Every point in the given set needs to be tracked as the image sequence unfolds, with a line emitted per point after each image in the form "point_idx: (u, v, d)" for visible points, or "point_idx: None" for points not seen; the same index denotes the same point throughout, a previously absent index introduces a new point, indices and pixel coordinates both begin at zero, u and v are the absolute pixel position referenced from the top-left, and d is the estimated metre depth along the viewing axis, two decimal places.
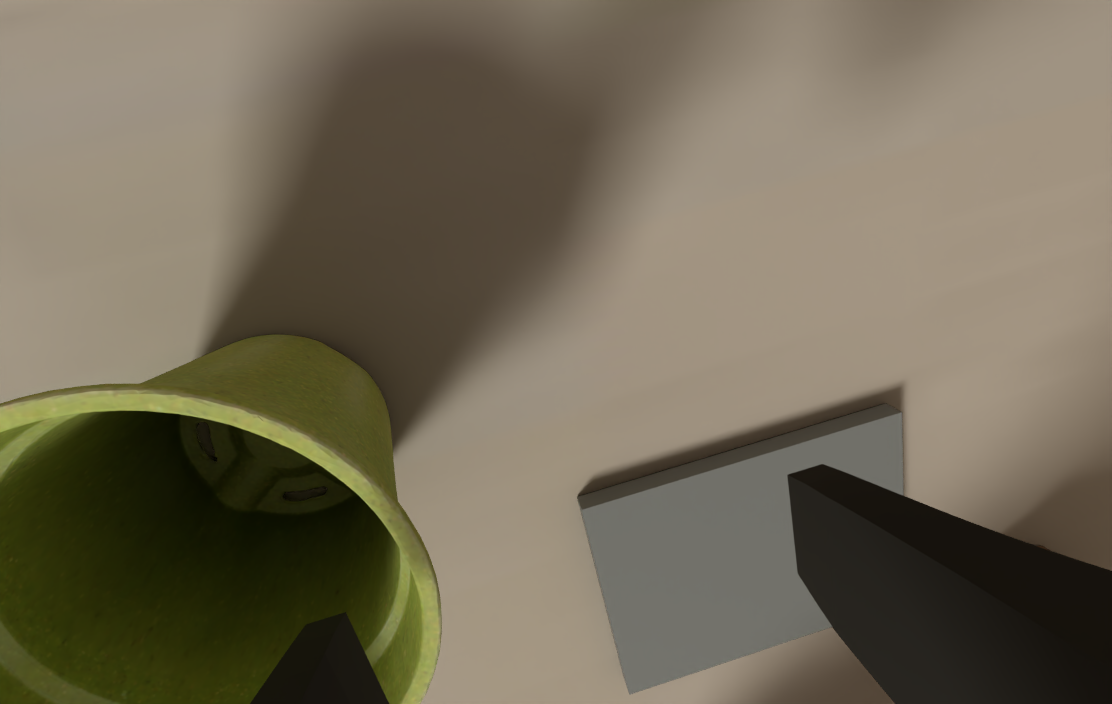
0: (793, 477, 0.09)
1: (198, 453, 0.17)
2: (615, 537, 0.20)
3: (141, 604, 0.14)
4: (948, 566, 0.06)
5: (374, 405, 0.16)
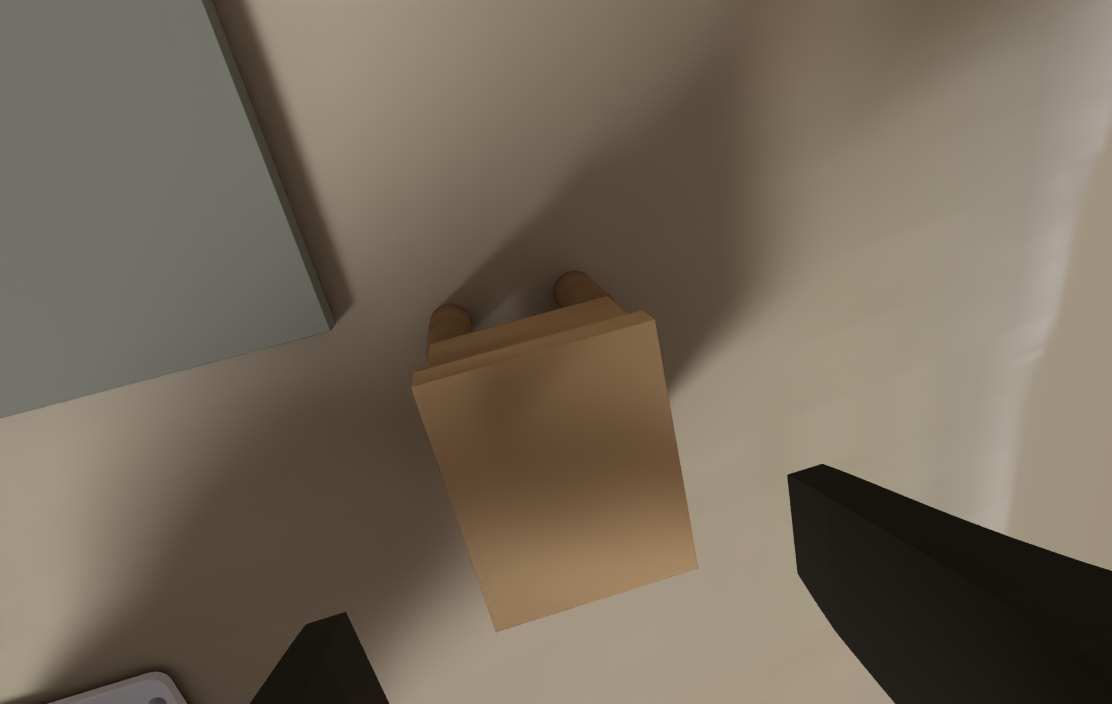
0: (793, 477, 0.09)
1: None
2: None
3: None
4: (948, 566, 0.06)
5: None
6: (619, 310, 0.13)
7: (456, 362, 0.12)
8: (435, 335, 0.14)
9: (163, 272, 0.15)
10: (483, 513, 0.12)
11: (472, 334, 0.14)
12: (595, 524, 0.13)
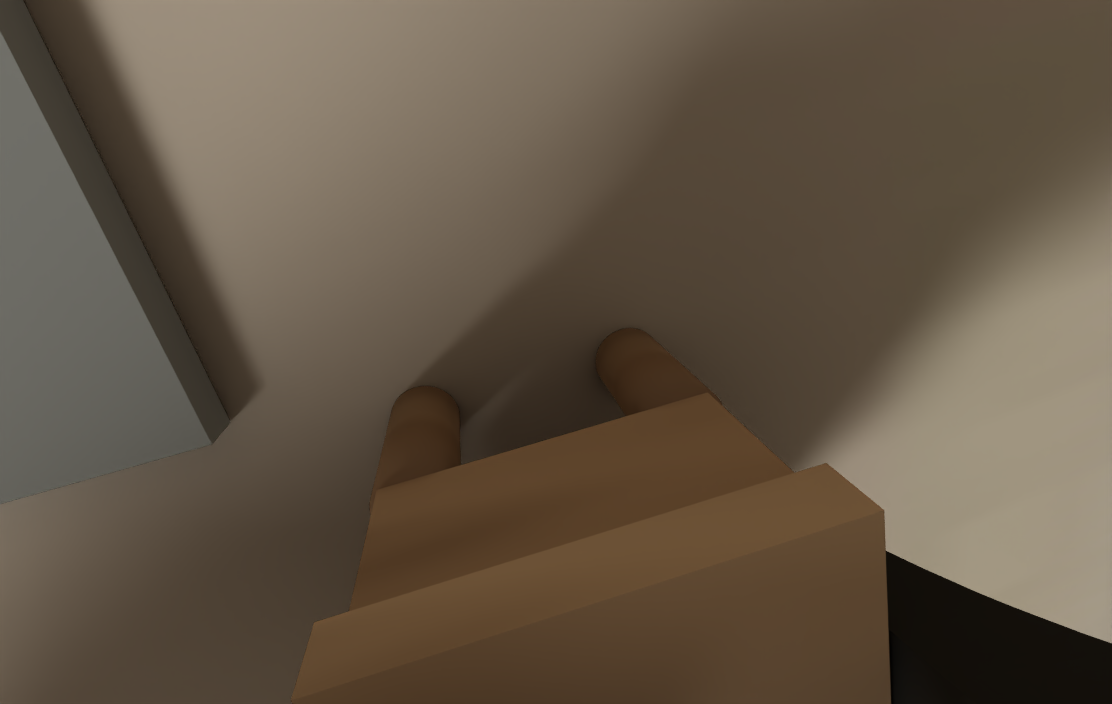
0: None
1: None
2: None
3: None
4: None
5: None
6: (752, 441, 0.07)
7: (412, 599, 0.05)
8: (387, 472, 0.08)
9: None
10: None
11: (457, 471, 0.07)
12: None
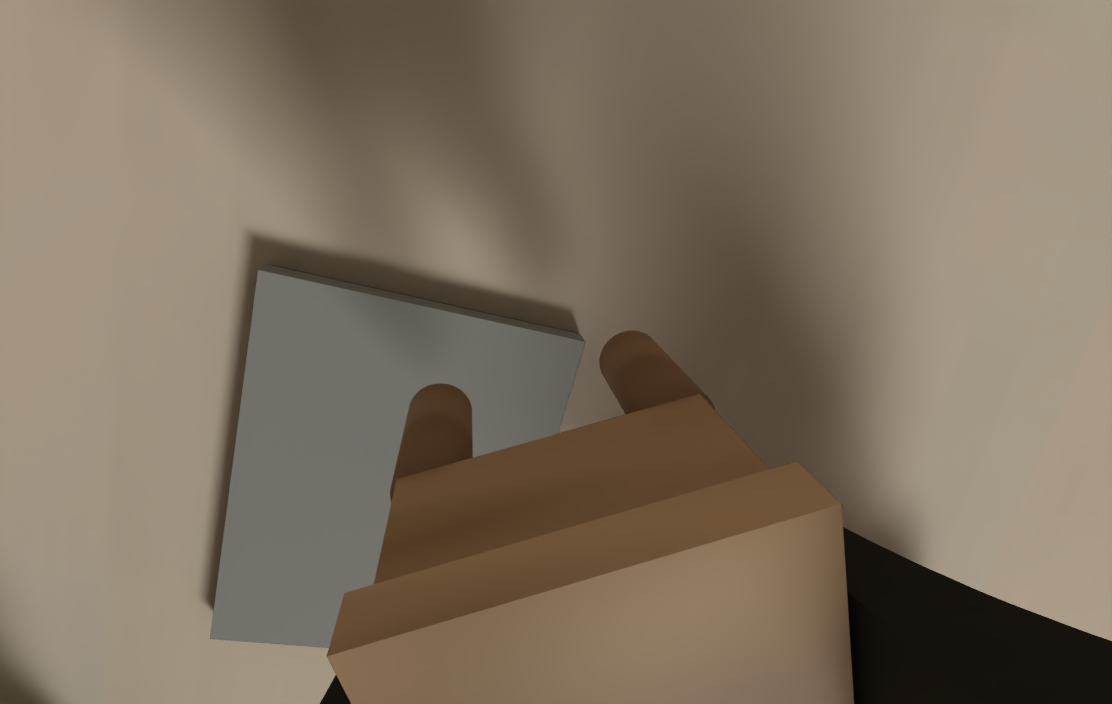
0: None
1: None
2: (266, 619, 0.18)
3: None
4: (857, 596, 0.06)
5: None
6: (734, 440, 0.07)
7: (429, 574, 0.06)
8: (405, 464, 0.08)
9: (475, 427, 0.17)
10: None
11: (469, 464, 0.08)
12: None
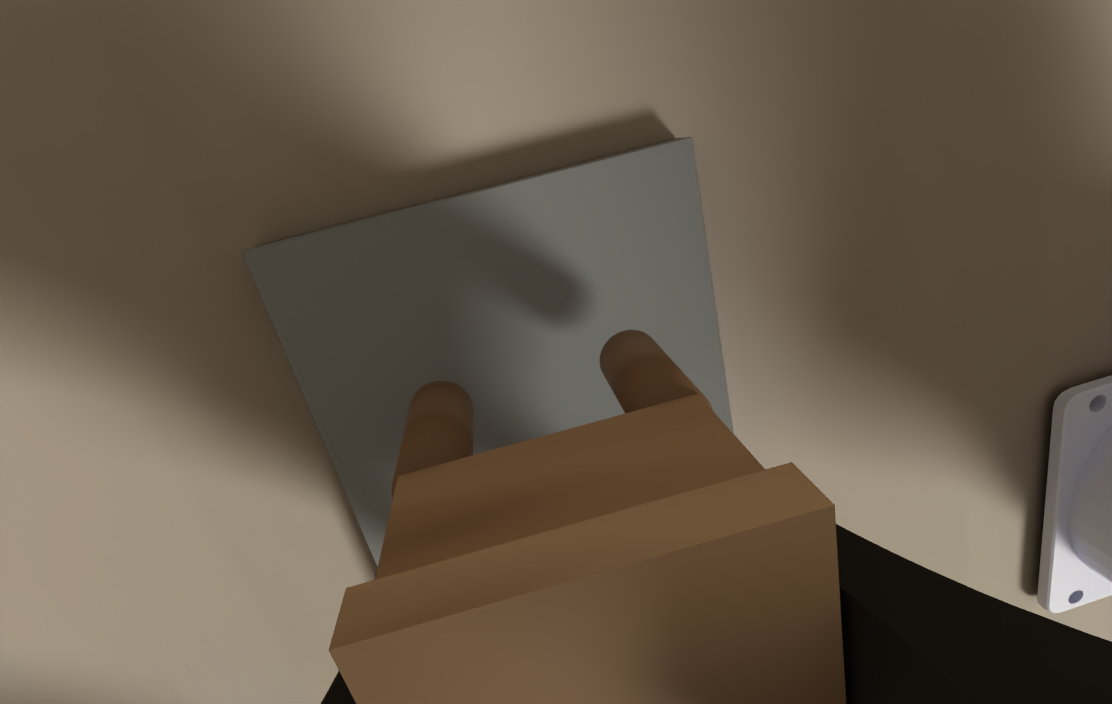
0: None
1: None
2: None
3: None
4: (857, 596, 0.06)
5: None
6: (732, 439, 0.07)
7: (429, 571, 0.06)
8: (407, 460, 0.08)
9: (603, 324, 0.12)
10: None
11: (468, 461, 0.08)
12: None
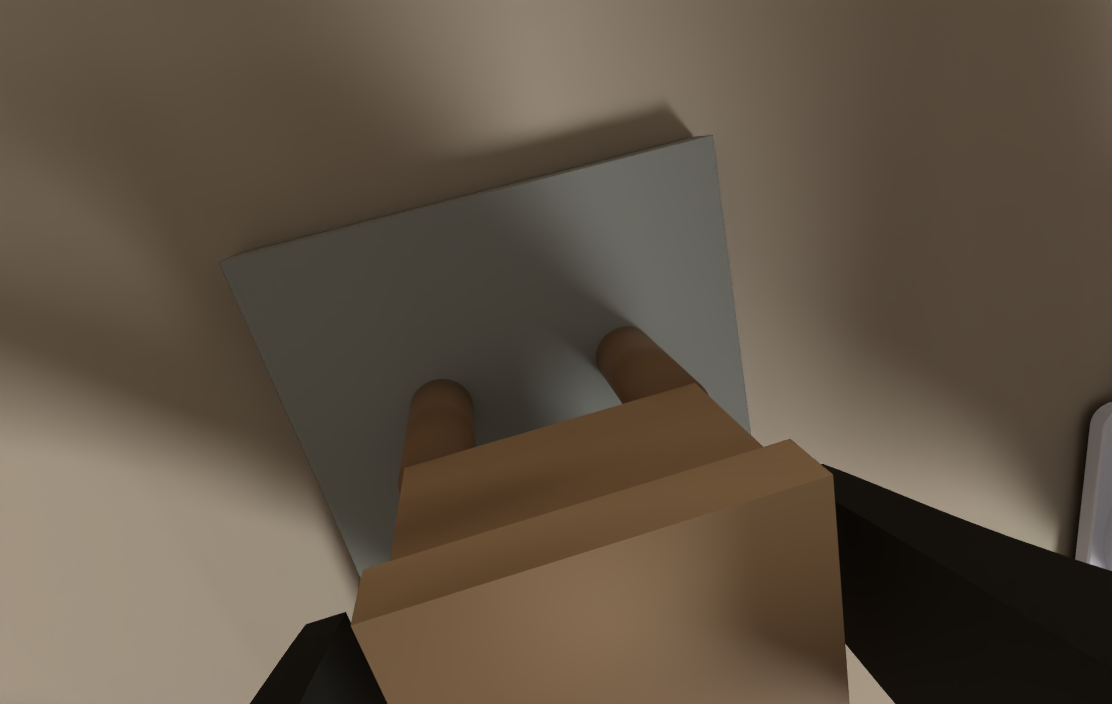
0: None
1: None
2: None
3: None
4: (948, 566, 0.06)
5: None
6: (731, 422, 0.08)
7: (444, 550, 0.06)
8: (413, 453, 0.09)
9: None
10: None
11: (474, 452, 0.09)
12: None
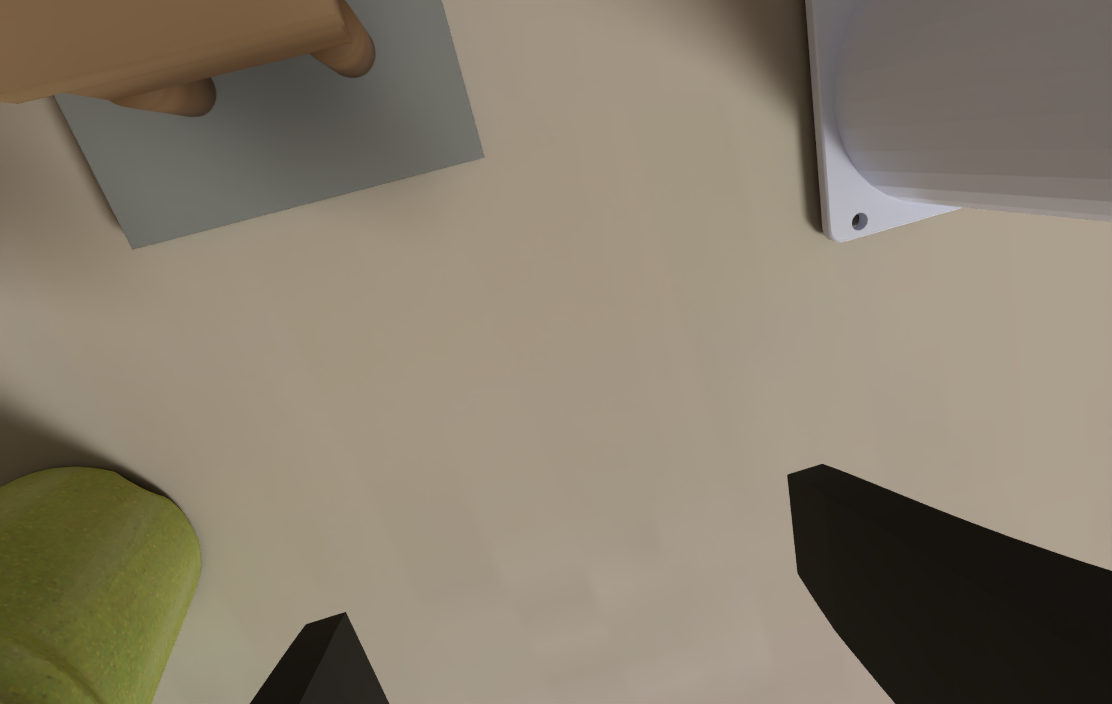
0: (793, 477, 0.09)
1: None
2: (178, 196, 0.14)
3: None
4: (948, 566, 0.06)
5: None
6: None
7: None
8: None
9: None
10: None
11: None
12: None
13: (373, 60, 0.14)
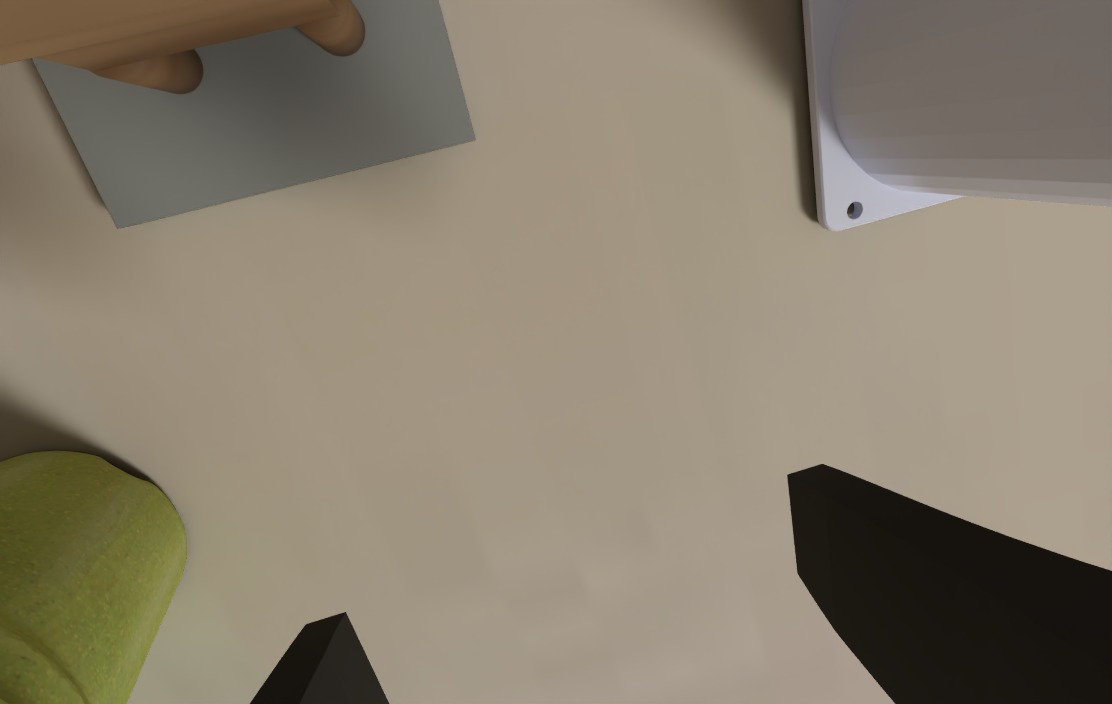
0: (793, 477, 0.09)
1: None
2: (164, 174, 0.14)
3: None
4: (948, 566, 0.06)
5: None
6: None
7: None
8: None
9: None
10: None
11: None
12: None
13: (363, 38, 0.13)
